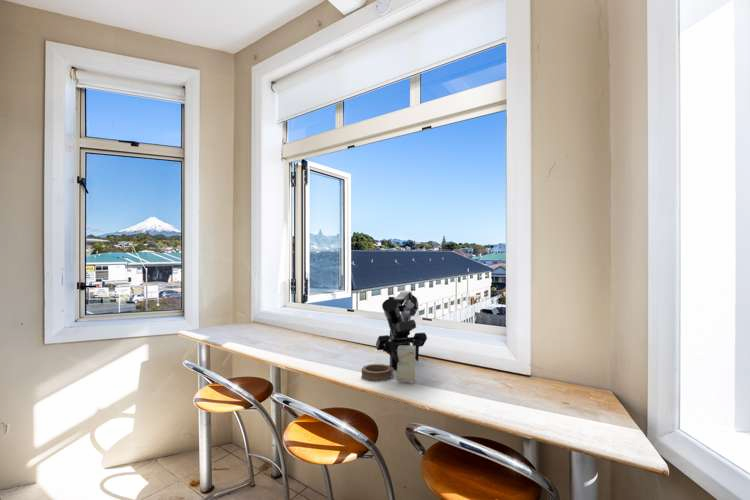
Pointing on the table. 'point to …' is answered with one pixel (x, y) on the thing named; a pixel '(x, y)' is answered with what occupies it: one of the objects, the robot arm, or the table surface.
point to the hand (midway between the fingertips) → (407, 361)
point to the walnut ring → (377, 372)
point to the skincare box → (406, 363)
